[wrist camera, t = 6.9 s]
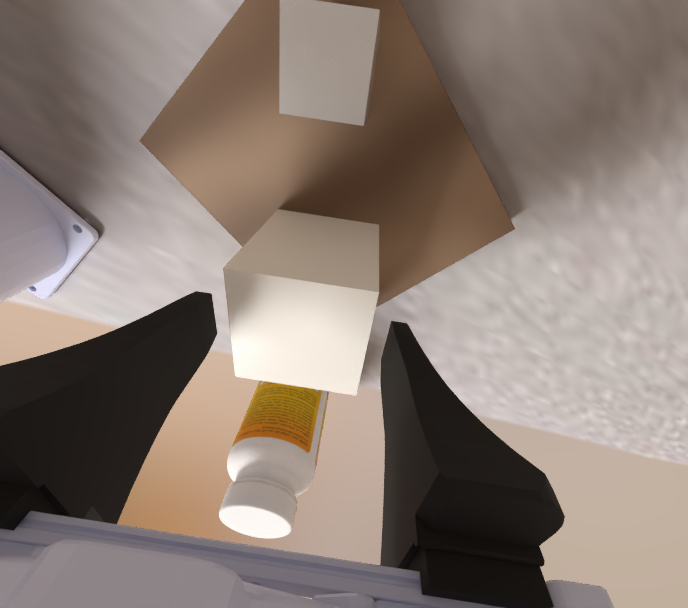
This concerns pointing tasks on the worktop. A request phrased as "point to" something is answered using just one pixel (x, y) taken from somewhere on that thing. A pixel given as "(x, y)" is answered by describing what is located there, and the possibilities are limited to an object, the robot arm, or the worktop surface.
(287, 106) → the post
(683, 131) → the worktop surface
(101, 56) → the worktop surface
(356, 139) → the board
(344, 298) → the cream rectangular block
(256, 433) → the supplement bottle
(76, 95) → the worktop surface
